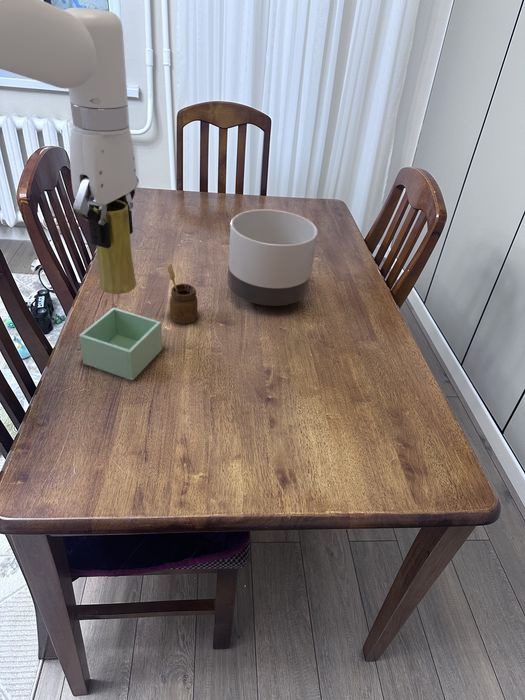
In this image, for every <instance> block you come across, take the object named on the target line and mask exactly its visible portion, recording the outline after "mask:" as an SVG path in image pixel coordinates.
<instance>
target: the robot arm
mask: <svg viewBox="0 0 525 700" xmlns="http://www.w3.org/2000/svg"><path fill="white" fill-rule="evenodd" d="M121 21H122V20H121V19H120V18H119V16H118V15H117V14H116V13H114V12H112V11H109V10H106V9H101V8H100V9H98V8H91V7H68V8H65V9H62V8H60V7H57V6H55V5H53V4H51V3H48V2H47V1H44V0H0V70H3V71H6V72H8V73H12V74H15V75H19V76H21V77H25V78H28V79H31V80H33V81H37V82H41V83H42V84H43V83H44V84H46V85H50V86H52V87H56V88H59V89H65V90H66V89H67V90H68V96H69V104H70V111H71V118H72V127H73V129H71V130H70V135H69V165H70V166H69V168H70V177H71V186H72V187H71V188H72V193H73V198H74V202H73V206H72V209H73V210H74V212H76V213H78V214H79V215H81V217H83V218H84V219H85V221H86V222H88V225H89V234H90V241H91V244H92V245H93V246H96V245H97V246H100V247H104V248H110V247H111V240H110V230H109V223H105V222H106V212H107V204H108V203H110V202H112V201H114V200H120V201H123V202H125V203H126V204H127V205H128V214H129V228H130V235H132V234H133V233H134V225H133V212H132V209H133V208H134V202H133V200H134V197H135V194H136V190H137V187H138V185H139V183H140V179H139V177H138V176H137V169H136V168H137V167H136V158H135V151H134V144H133V138H132V133H131V129H130V116H129V115H130V114H129V102H128V101H129V100H128V89H127V88H128V87H127V86H128V85H127V72H126V57H125V43H124V42H125V41H124V40H125V39H124V28H123V23H122V22H121ZM94 206H98V207H99V213H96V212H95V211H94ZM97 246H96V247H97Z"/></svg>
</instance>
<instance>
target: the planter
mask: <svg viewBox="0 0 525 700" xmlns="http://www.w3.org/2000/svg"><path fill="white" fill-rule="evenodd" d="M229 228H230V229H229V245H228V247H229V248H228V260H227V261H228V263H227V282H226V283H227V287H228V288H229V290H230V291H231V292H232V293H233V294H234V295H236V296H237V297H239V298H240V299H242V300H244V301H247V302H249V303H252V304H256V305H261V306H269V307H270V306H271V307H272V306H273V307H275V306H276V307H277V306H280V307H281V306H287V305H292V304H294V303H297V302H299V301H301V300H302V299H304V297H306V295H307V294H308V291H309V286H310V281H311V275H312V270H313V263H314V257H315V252H316V246H317V240H318V235H319V231H318V227H317V226H316V225H315V223H313V222H312V221H311V220H309V219H308V218H307V217H304V216H302V215H299V214H297V213H293V212H289V211H286V210H280V209H268V208H265V209H264V208H262V209H251V210H246V211H243V212H240V213H238V214H236V215H234V217H233V218H232V219H231V221H230V227H229Z"/></svg>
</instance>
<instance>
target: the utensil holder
mask: <svg viewBox="0 0 525 700" xmlns="http://www.w3.org/2000/svg"><path fill="white" fill-rule="evenodd" d="M167 271H168V275H169V279H170V280H171V281H172V284H173V286H172V288H171V289H170V297H169V316H170V318H171V321H173V322H175V323H177V324H183V325H184V324H185V325H187V324H190V323H194V322H195V321H196V319H197V317H198V297H197V291H196V286H197V285H194V282H195V283H197V280H198V279H197V278H198V277H197V276H196V275H194V274H188V275H187V277H186V278H185V280H188V279H189V280H188V283H187V281H185V283H178V284H176V281H175V279H176V275H175V272H174V268H173V265H172V263H169V265H167ZM192 277H194V278H192ZM191 278H192V284H189V283H190V281H191ZM194 279H195V281H194Z"/></svg>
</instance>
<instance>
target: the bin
mask: <svg viewBox="0 0 525 700" xmlns="http://www.w3.org/2000/svg"><path fill="white" fill-rule="evenodd" d="M162 329H163V328H162V321H159V320H155V319H152V318H150V317H149V318H148V317H146V316H143V315H139V314H136V313H133V312H130V311H126V310H123V309H120V308H116V307H112V308H111V309H110V310H109V311H107V312H106V313H104V314H103V315H102V316H101V317H100V318H98V319H97V320H96V321H95V322H93V323H92V324H91V325H90V326H88V327H87V328H86V329H85V330H83V331H82V332H81V333H80V334H79V335H78V339H79V346H80V351H81V357H82V363H83V365H85V366H88V367H92V368H95V369H97V370H101V371H104V372H106V373H109V374H112V375H115V376H118V377H121V378H124V379H127V380H130V381H134V380H135V379H136V378H137V377H138V375H140V373H142V372H143V370H145V368H146V367H148V365H149V364H150V363H151V362H152V360H154V359H155V358H156V357H157V356H158V355H159V353H160V352H161V351H163V334H162Z"/></svg>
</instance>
